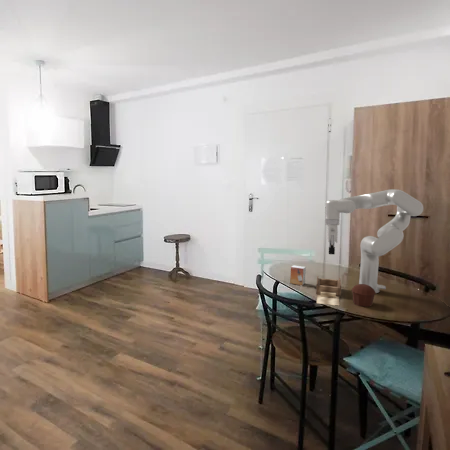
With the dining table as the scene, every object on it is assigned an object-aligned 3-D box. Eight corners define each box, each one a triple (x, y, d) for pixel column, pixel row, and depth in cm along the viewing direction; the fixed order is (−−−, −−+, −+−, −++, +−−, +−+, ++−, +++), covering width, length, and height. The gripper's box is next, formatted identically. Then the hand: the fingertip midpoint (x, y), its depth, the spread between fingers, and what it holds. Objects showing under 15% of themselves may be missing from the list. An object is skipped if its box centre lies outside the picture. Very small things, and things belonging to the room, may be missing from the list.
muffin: (346, 303, 180) (347, 284, 178) (356, 298, 187) (357, 280, 186) (369, 309, 171) (371, 289, 170) (378, 304, 179) (380, 285, 178)
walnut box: (339, 288, 204) (340, 278, 203) (340, 297, 189) (341, 286, 188) (316, 286, 208) (317, 276, 207) (316, 294, 192) (316, 283, 192)
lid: (338, 298, 189) (338, 292, 188) (339, 307, 175) (339, 301, 175) (317, 296, 192) (317, 290, 192) (316, 304, 179) (316, 298, 178)
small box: (289, 283, 212) (290, 266, 211) (292, 281, 217) (293, 264, 216) (302, 285, 208) (303, 268, 207) (305, 283, 213) (306, 266, 212)
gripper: (340, 223, 187) (339, 257, 190) (338, 220, 202) (337, 251, 204) (325, 223, 189) (325, 256, 192) (325, 220, 204) (324, 251, 206)
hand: (331, 254), depth 198 cm, fingers closed
